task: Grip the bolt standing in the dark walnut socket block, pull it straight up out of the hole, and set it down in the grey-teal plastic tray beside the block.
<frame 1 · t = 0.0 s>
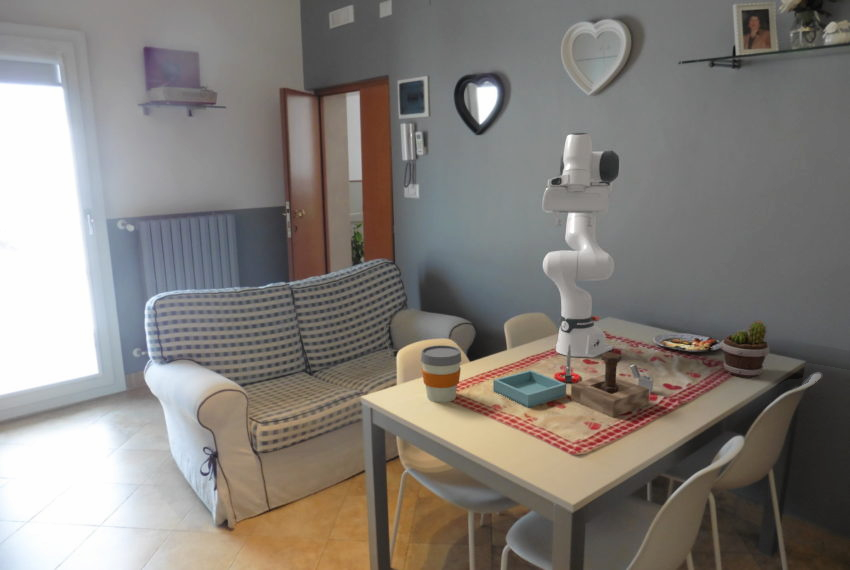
hand: (574, 226, 188), 52 cm above the table, tool tilted 20°, fingers open, 8 cm apart
tray: (529, 393, 192), on the table
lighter: (640, 390, 194), on the table
red valve handwheel: (567, 379, 205), on the table
reusable coffee cup: (441, 397, 190), on the table
flowerpot: (742, 373, 207), on the table
food plate: (687, 347, 238), on the table
bolt: (609, 402, 184), resting in socket block
socket block: (609, 402, 184), on the table
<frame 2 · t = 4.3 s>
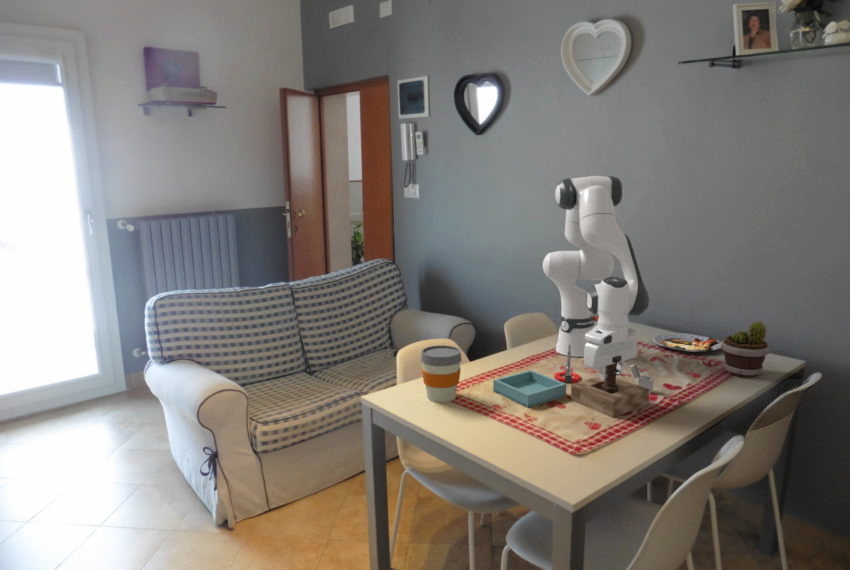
hand: (610, 376, 182), 8 cm above the table, tool pointing down, fingers closed on bolt, 5 cm apart
bolt: (609, 402, 184), resting in socket block, touching gripper
everything else where it was.
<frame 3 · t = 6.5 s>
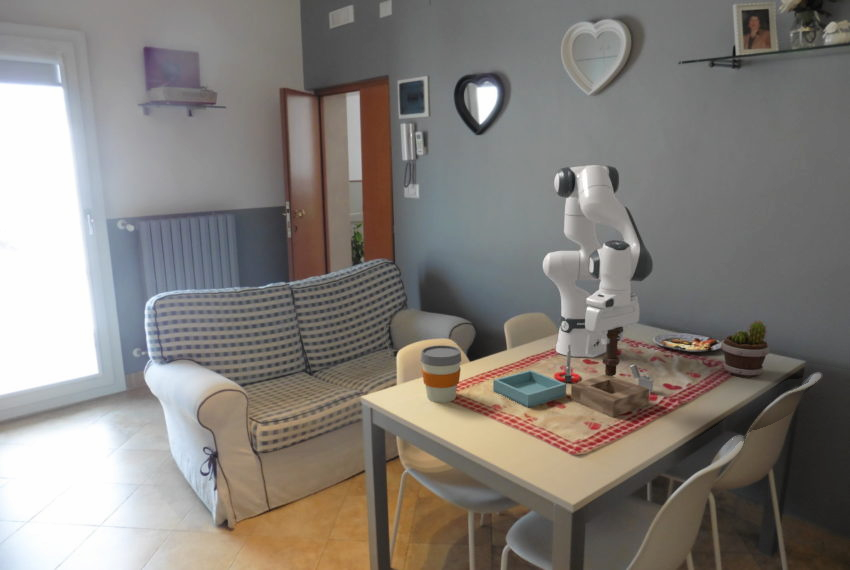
hand: (612, 342, 181), 19 cm above the table, tool pointing down, fingers closed on bolt, 5 cm apart
bolt: (610, 375, 183), point 8 cm above the table, touching gripper
everything else where it was.
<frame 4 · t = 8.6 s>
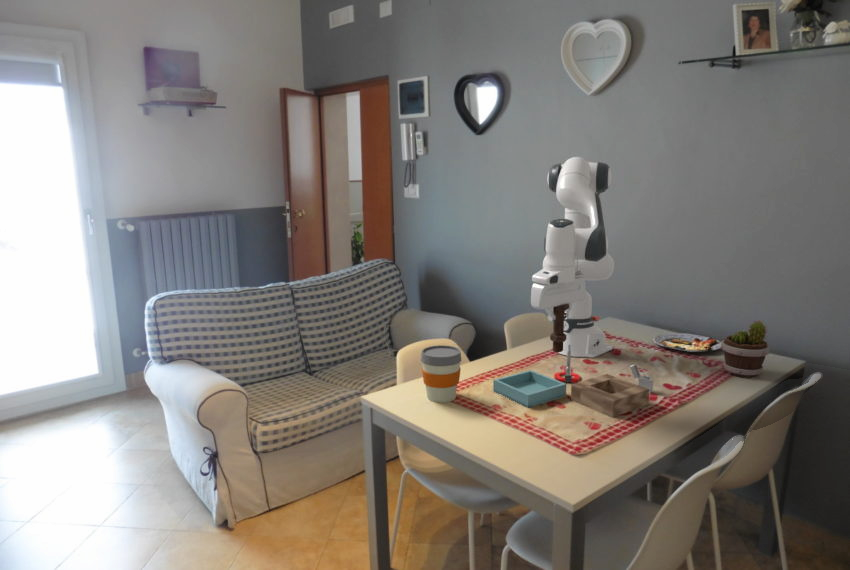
hand: (558, 319, 184), 25 cm above the table, tool pointing down, fingers closed on bolt, 5 cm apart
bolt: (557, 351, 186), point 15 cm above the table, touching gripper
everything else where it was.
when the fingers open (11 cm above the table, at t = 11.8 s): bolt stays where it is, resting on tray.
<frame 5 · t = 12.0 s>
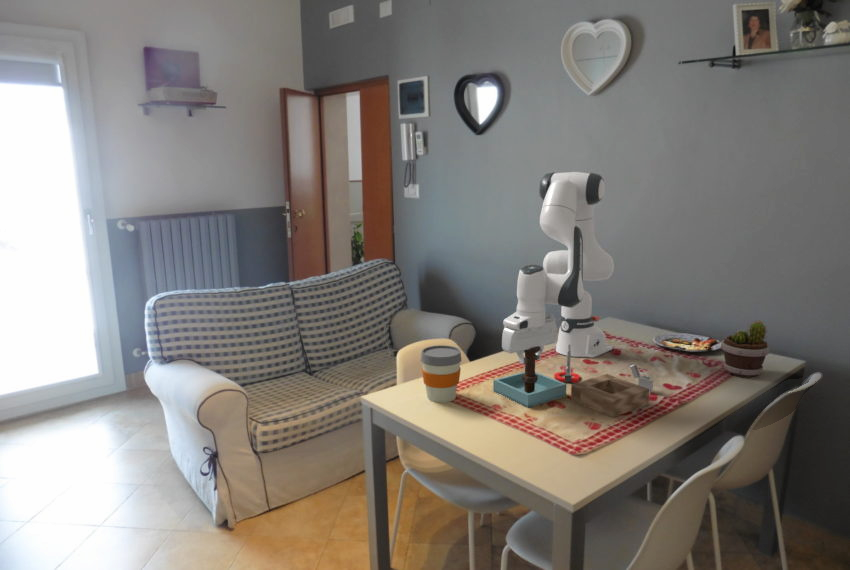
hand: (529, 361, 189), 11 cm above the table, tool pointing down, fingers open, 5 cm apart
bolt: (529, 392, 191), point 1 cm above the table, touching gripper, tray
everything else where it was.
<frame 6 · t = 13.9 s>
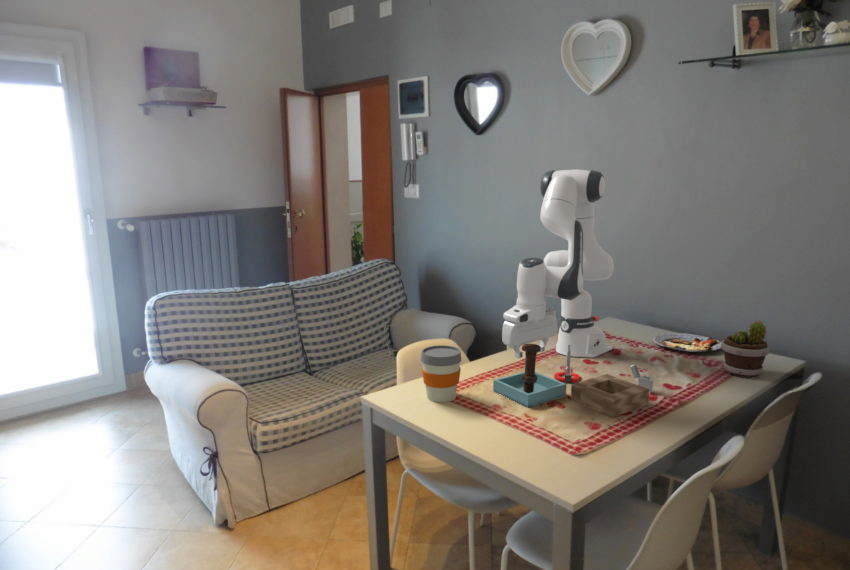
hand: (530, 354, 189), 13 cm above the table, tool pointing down, fingers open, 8 cm apart
bolt: (528, 392, 191), point 1 cm above the table, touching tray
everything else where it was.
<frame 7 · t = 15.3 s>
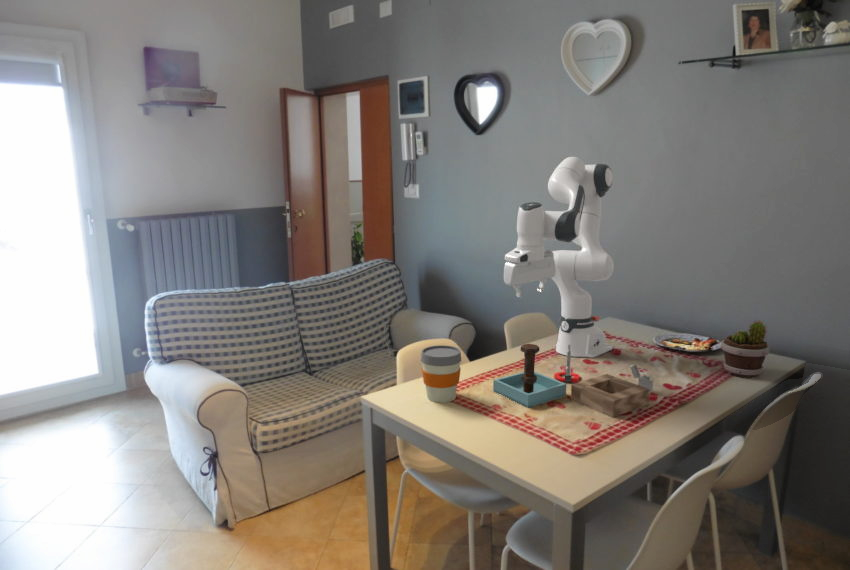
hand: (530, 294, 201), 29 cm above the table, tool pointing down, fingers open, 8 cm apart
nothing on the table moved.
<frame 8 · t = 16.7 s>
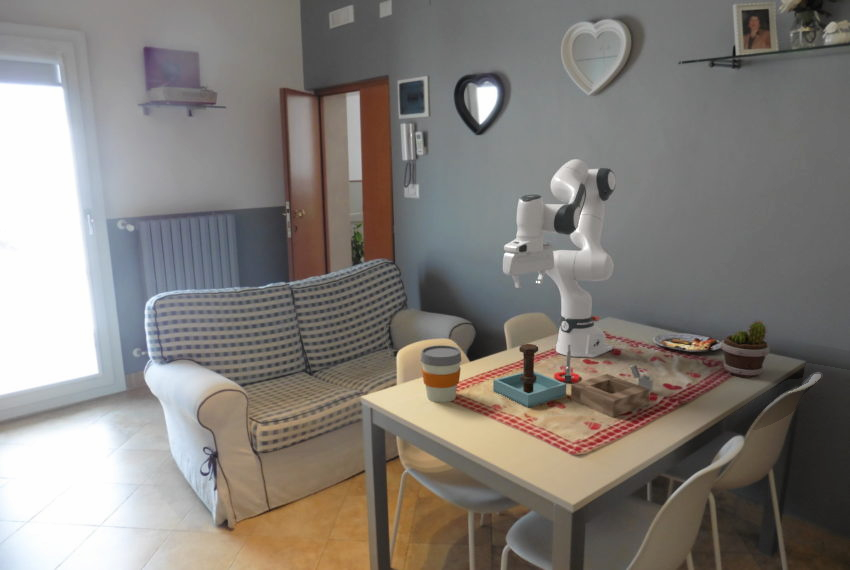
hand: (528, 285, 203), 31 cm above the table, tool pointing down, fingers open, 8 cm apart
nothing on the table moved.
at the end: bolt inside the target area on the tray (0.5 cm from its centre), point 0.6 cm above the tray's base; bolt moved 24.5 cm from its start; the gripper is holding nothing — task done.
